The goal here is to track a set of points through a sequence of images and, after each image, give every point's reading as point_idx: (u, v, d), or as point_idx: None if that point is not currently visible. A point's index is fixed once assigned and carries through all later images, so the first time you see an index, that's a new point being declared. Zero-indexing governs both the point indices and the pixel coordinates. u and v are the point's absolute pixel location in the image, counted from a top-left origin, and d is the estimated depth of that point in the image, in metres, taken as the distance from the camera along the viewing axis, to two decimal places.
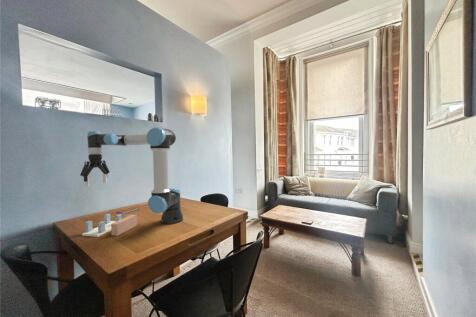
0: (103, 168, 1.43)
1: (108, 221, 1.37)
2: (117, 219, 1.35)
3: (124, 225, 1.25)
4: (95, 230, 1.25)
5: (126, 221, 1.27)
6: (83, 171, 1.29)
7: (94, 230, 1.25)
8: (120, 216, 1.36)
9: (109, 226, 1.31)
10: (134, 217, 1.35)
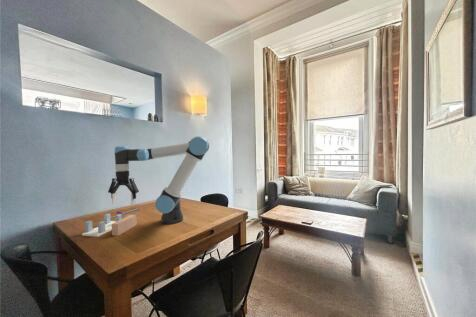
0: (128, 187, 1.26)
1: (108, 221, 1.37)
2: (117, 219, 1.35)
3: (124, 225, 1.25)
4: (95, 230, 1.25)
5: (126, 221, 1.27)
6: None
7: (94, 230, 1.25)
8: (120, 216, 1.36)
9: (109, 226, 1.31)
10: (134, 217, 1.35)
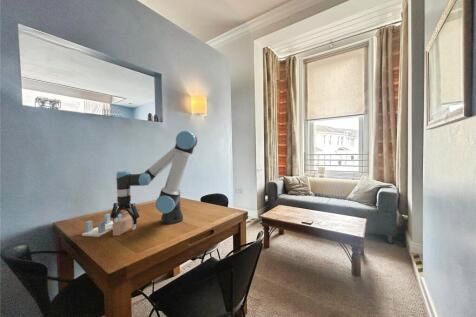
0: (129, 212, 1.26)
1: (108, 221, 1.37)
2: None
3: (124, 224, 1.25)
4: (95, 230, 1.25)
5: (126, 221, 1.27)
6: None
7: (94, 230, 1.25)
8: (120, 216, 1.36)
9: (109, 226, 1.31)
10: None
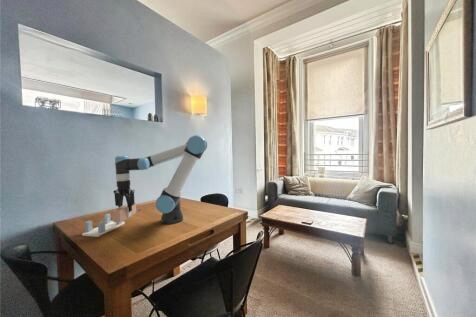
0: (127, 198, 1.26)
1: (108, 221, 1.37)
2: None
3: (125, 211, 1.25)
4: (95, 230, 1.25)
5: None
6: None
7: (94, 230, 1.25)
8: None
9: (109, 226, 1.31)
10: (133, 205, 1.35)
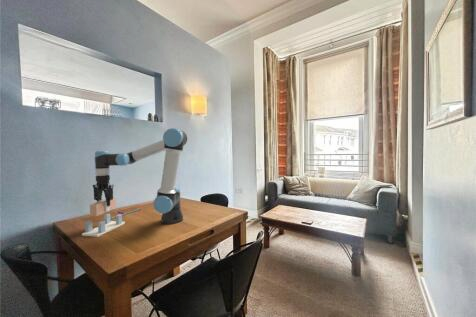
0: (105, 193, 1.28)
1: (108, 221, 1.37)
2: (117, 219, 1.35)
3: (103, 206, 1.26)
4: (95, 230, 1.25)
5: None
6: None
7: (94, 230, 1.25)
8: (120, 216, 1.36)
9: (109, 226, 1.31)
10: (113, 200, 1.36)
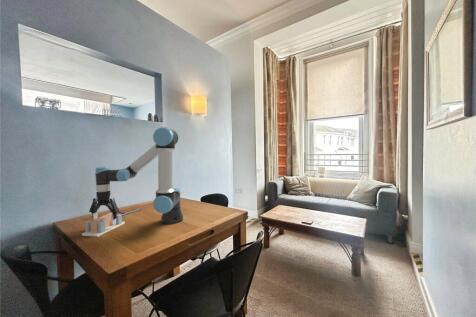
0: (109, 207, 1.28)
1: None
2: (117, 219, 1.35)
3: None
4: None
5: (106, 218, 1.29)
6: None
7: None
8: (120, 216, 1.36)
9: (109, 226, 1.31)
10: None
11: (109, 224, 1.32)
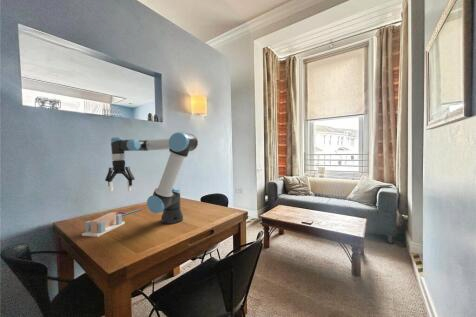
0: (125, 175, 1.36)
1: None
2: (117, 219, 1.35)
3: None
4: None
5: (106, 218, 1.29)
6: None
7: None
8: (120, 216, 1.36)
9: (109, 226, 1.31)
10: (113, 215, 1.36)
11: (109, 224, 1.32)
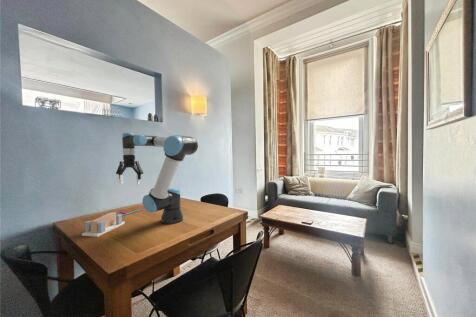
0: (134, 169, 1.42)
1: None
2: (117, 219, 1.35)
3: None
4: None
5: (106, 218, 1.29)
6: None
7: None
8: (120, 216, 1.36)
9: (109, 226, 1.31)
10: (113, 215, 1.36)
11: (109, 224, 1.32)
